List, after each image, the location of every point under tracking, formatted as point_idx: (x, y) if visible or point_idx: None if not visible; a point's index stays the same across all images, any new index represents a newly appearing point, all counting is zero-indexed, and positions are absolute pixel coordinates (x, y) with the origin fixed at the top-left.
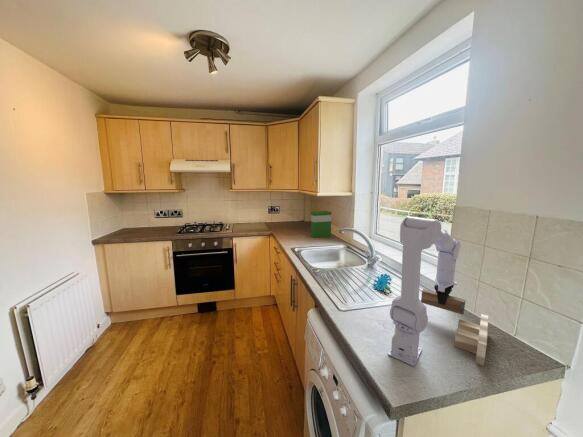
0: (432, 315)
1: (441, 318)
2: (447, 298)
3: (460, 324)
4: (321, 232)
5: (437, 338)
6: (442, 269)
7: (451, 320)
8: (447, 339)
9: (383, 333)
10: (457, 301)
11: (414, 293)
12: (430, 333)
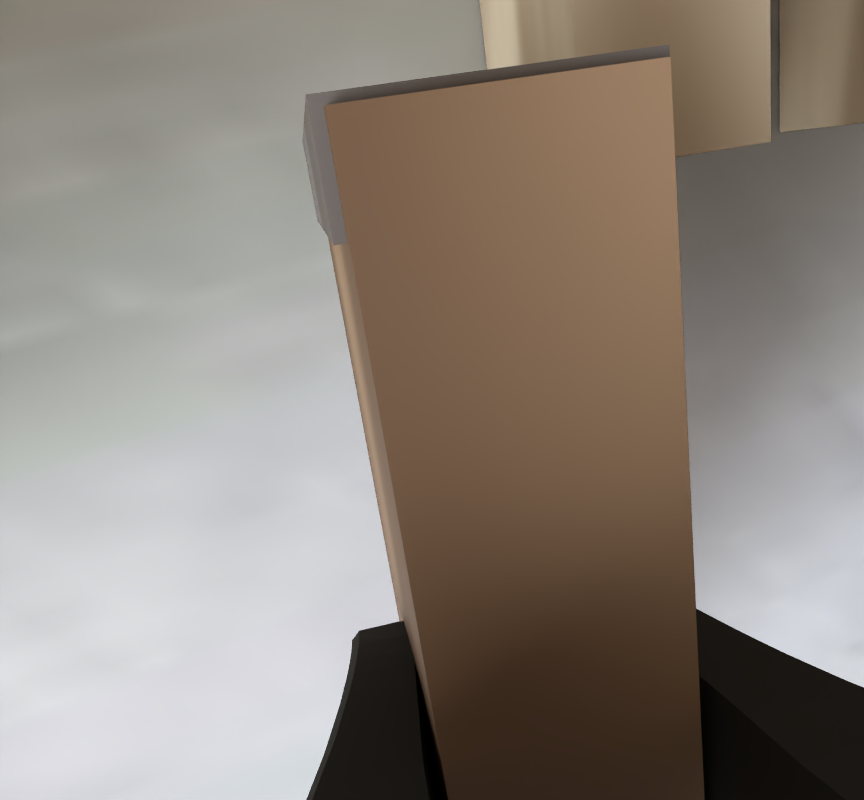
0: (297, 603)
1: (278, 483)
2: (676, 667)
3: (764, 98)
4: None
5: (856, 327)
6: None
7: (208, 355)
8: (802, 227)
9: None
10: (656, 341)
11: None
12: (799, 429)
